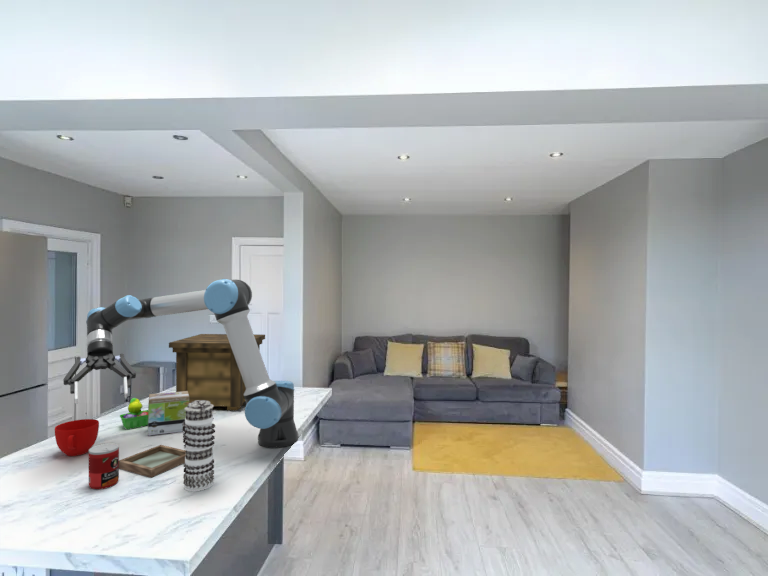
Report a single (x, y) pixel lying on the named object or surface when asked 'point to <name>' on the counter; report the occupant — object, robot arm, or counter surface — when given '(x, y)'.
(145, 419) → the fruit basket
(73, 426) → the ceramic cup
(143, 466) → the tray
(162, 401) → the tea box
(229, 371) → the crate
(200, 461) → the decorative candle
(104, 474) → the canned food
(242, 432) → the counter surface
